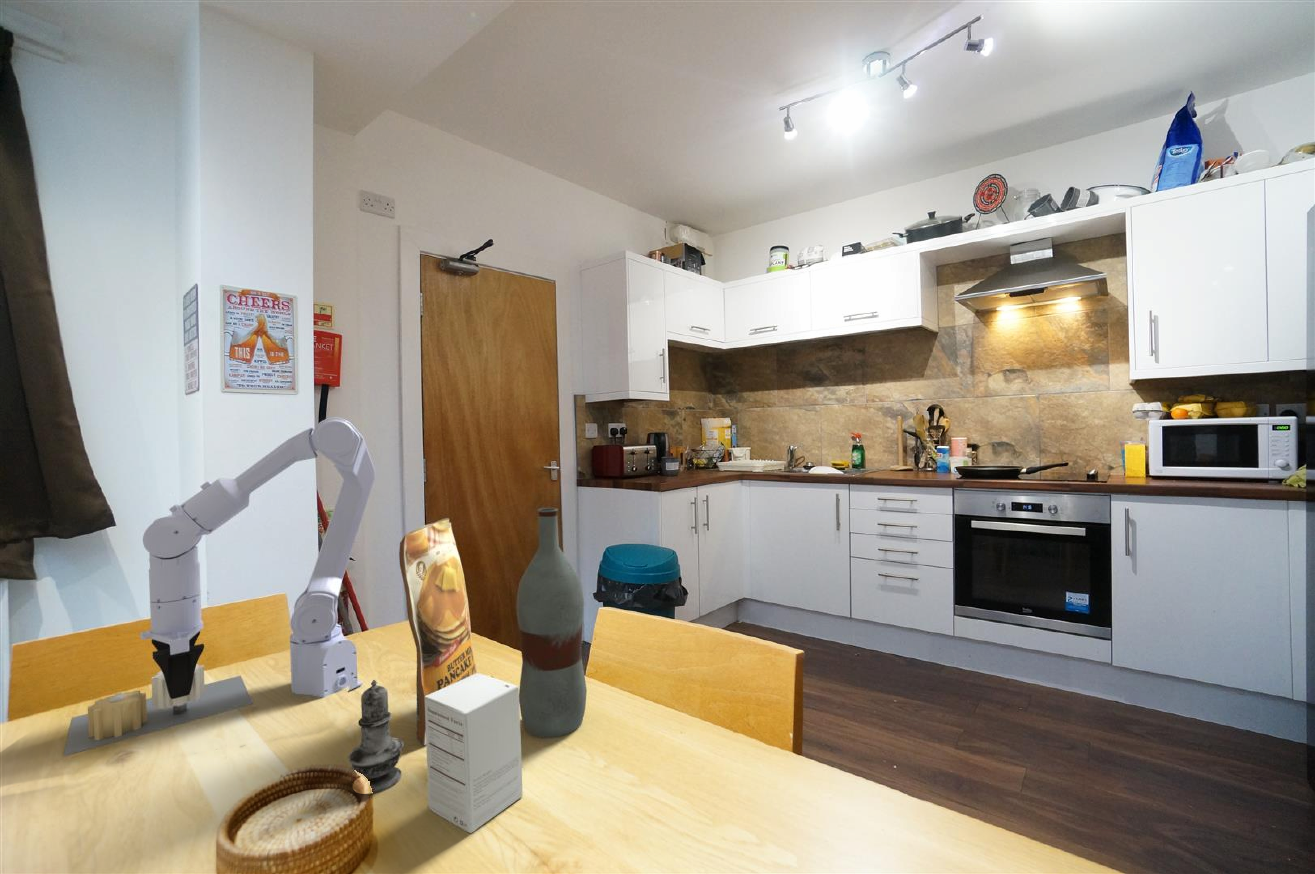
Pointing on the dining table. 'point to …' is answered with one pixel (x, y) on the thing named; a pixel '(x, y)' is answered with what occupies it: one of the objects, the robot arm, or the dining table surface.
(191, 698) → the gear
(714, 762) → the dining table surface
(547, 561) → the bottle
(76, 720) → the gear board
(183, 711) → the steel peg
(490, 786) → the supplement box
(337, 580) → the robot arm
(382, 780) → the dark grey tall piece
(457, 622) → the pancake mix bag
